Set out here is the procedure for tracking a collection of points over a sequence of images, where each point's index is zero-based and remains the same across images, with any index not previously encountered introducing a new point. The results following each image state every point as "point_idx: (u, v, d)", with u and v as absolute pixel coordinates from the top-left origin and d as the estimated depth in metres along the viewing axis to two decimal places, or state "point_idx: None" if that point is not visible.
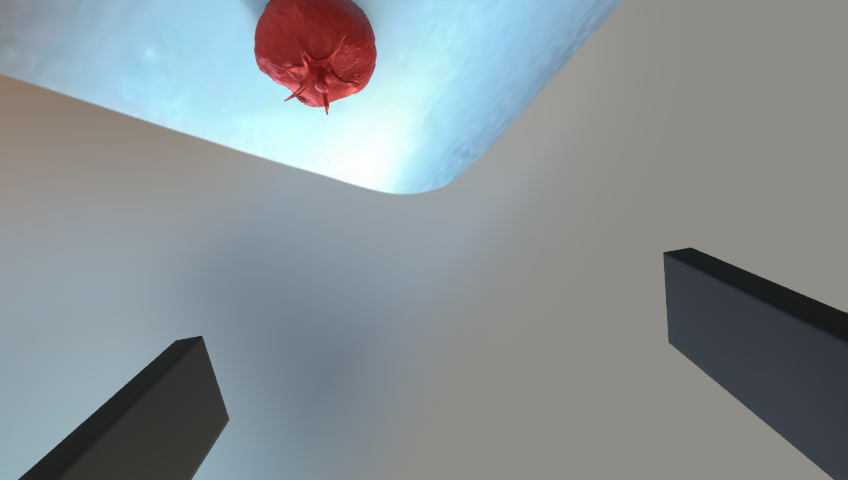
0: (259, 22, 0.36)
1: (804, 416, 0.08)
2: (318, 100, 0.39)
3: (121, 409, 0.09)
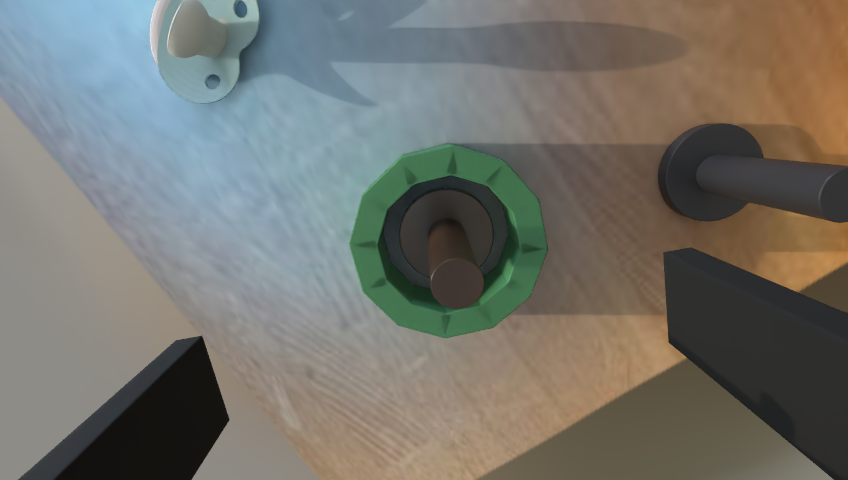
0: None
1: (804, 416, 0.08)
2: None
3: (121, 409, 0.09)
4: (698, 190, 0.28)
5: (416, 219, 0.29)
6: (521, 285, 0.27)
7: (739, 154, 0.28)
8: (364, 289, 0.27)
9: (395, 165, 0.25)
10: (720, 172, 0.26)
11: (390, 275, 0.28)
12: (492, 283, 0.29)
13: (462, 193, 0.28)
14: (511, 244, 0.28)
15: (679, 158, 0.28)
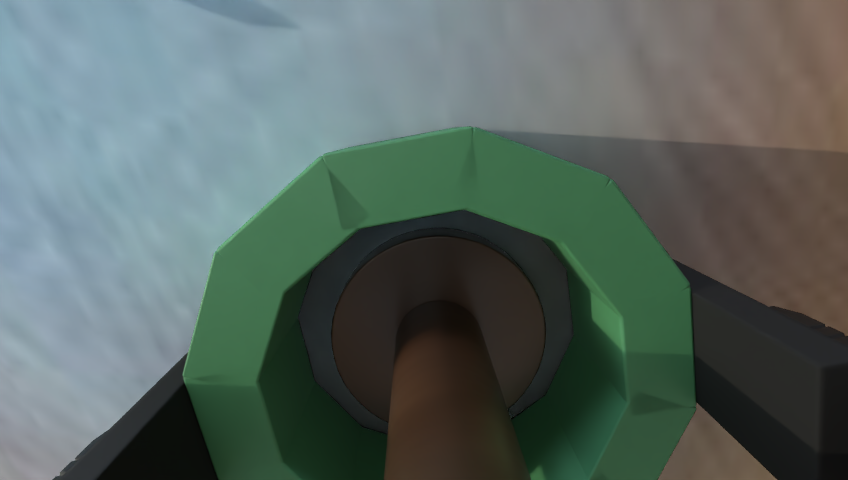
0: None
1: (734, 404, 0.09)
2: None
3: (177, 385, 0.10)
4: None
5: (371, 300, 0.12)
6: None
7: None
8: None
9: (307, 174, 0.09)
10: None
11: (300, 438, 0.12)
12: (539, 455, 0.12)
13: (481, 246, 0.12)
14: (588, 368, 0.12)
15: None
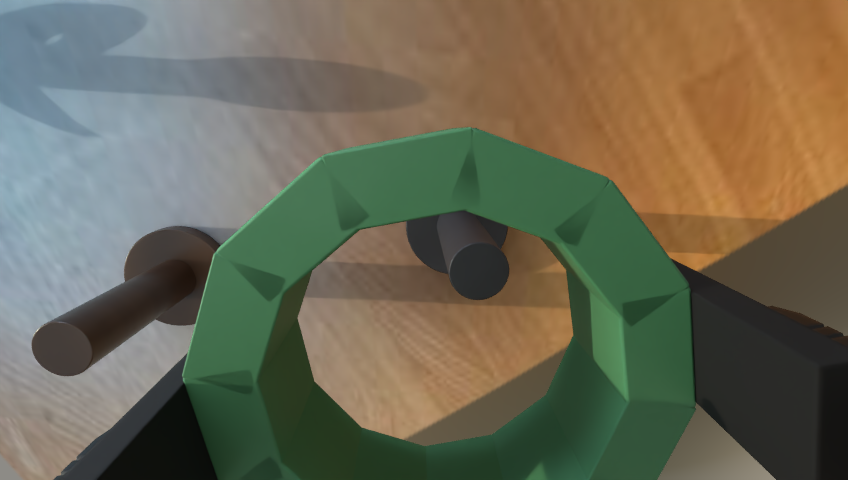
0: None
1: (733, 404, 0.09)
2: None
3: (178, 384, 0.10)
4: (441, 242, 0.27)
5: (140, 259, 0.27)
6: None
7: None
8: None
9: (306, 175, 0.09)
10: (440, 227, 0.24)
11: (299, 439, 0.12)
12: (539, 456, 0.12)
13: (188, 234, 0.26)
14: (587, 369, 0.12)
15: None
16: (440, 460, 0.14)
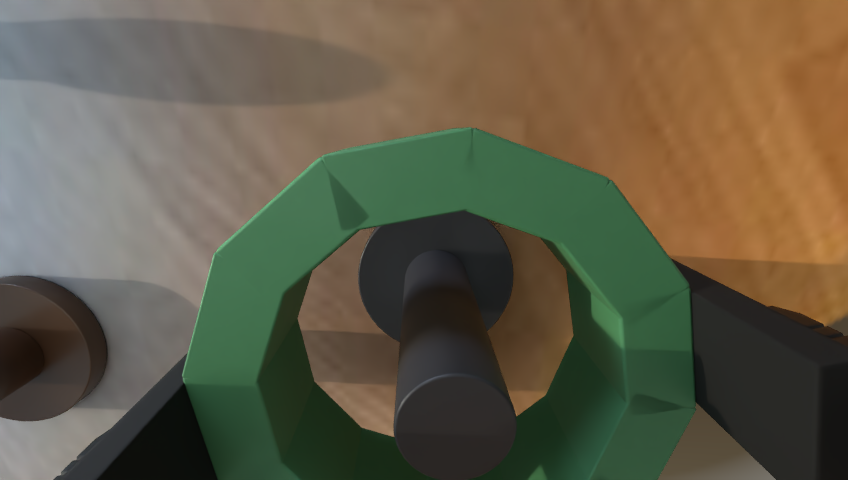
0: None
1: (733, 403, 0.09)
2: None
3: (178, 385, 0.10)
4: None
5: None
6: None
7: (472, 252, 0.17)
8: None
9: (306, 175, 0.09)
10: (404, 291, 0.15)
11: (299, 439, 0.12)
12: (539, 456, 0.12)
13: (27, 290, 0.17)
14: (587, 369, 0.12)
15: (376, 252, 0.17)
16: None
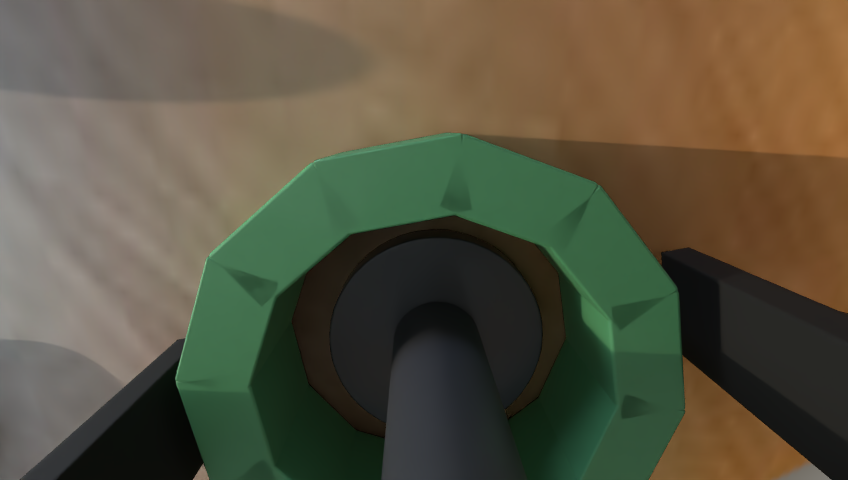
0: None
1: (800, 416, 0.08)
2: None
3: (124, 408, 0.09)
4: None
5: None
6: None
7: (486, 304, 0.13)
8: None
9: (298, 180, 0.09)
10: (392, 371, 0.10)
11: (292, 442, 0.12)
12: (531, 458, 0.12)
13: None
14: (579, 371, 0.12)
15: (353, 305, 0.12)
16: None
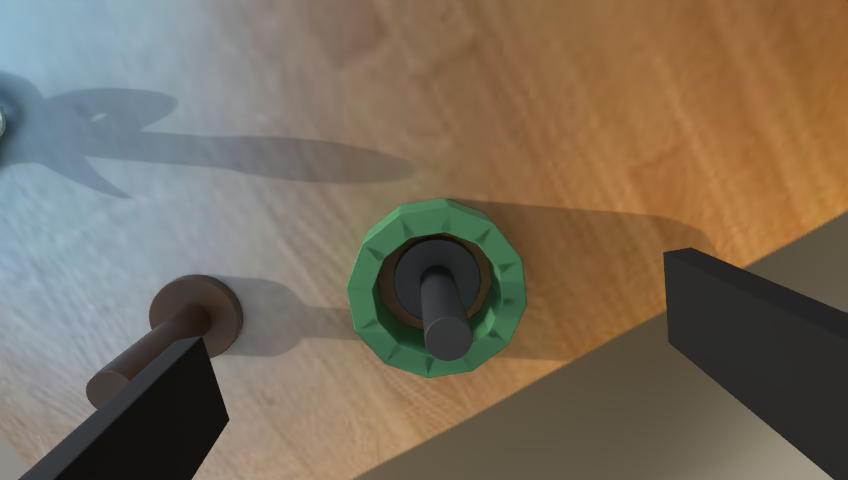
0: None
1: (804, 416, 0.08)
2: None
3: (121, 409, 0.09)
4: None
5: (164, 303, 0.31)
6: (500, 334, 0.30)
7: (457, 266, 0.31)
8: (356, 329, 0.29)
9: (394, 219, 0.28)
10: (421, 287, 0.29)
11: (381, 317, 0.30)
12: (474, 329, 0.31)
13: (206, 283, 0.31)
14: (494, 294, 0.31)
15: (404, 266, 0.31)
16: None
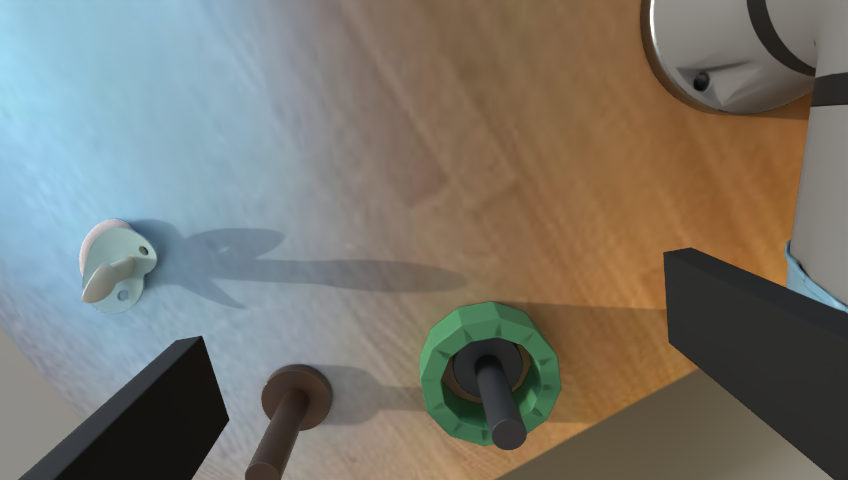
0: None
1: (804, 416, 0.08)
2: None
3: (121, 409, 0.09)
4: (477, 377, 0.40)
5: (273, 389, 0.39)
6: (541, 412, 0.37)
7: (504, 355, 0.39)
8: (428, 410, 0.37)
9: (458, 329, 0.36)
10: (478, 377, 0.37)
11: (445, 398, 0.38)
12: (518, 404, 0.39)
13: (306, 373, 0.39)
14: (533, 377, 0.39)
15: (461, 356, 0.39)
16: None
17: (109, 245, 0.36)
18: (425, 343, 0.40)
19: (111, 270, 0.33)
